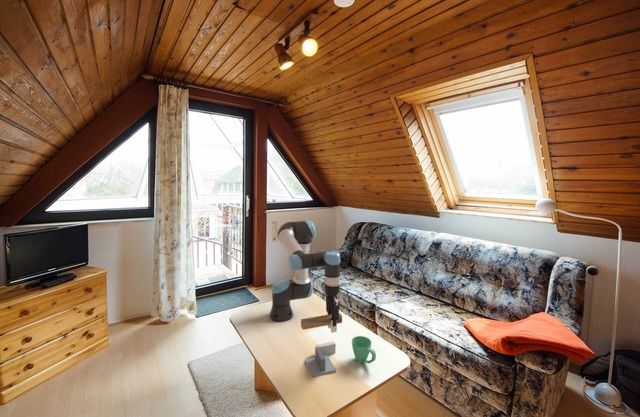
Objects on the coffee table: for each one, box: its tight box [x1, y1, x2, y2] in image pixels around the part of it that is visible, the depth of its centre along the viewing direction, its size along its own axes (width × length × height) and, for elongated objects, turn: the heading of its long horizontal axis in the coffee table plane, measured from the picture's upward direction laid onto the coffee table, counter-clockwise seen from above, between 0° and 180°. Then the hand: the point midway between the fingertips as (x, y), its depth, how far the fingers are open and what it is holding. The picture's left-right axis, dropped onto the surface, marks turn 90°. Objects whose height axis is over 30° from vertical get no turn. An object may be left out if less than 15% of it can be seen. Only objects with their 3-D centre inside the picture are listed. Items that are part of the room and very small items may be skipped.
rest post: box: [315, 341, 336, 356], centre depth 151 cm, size 2×10×5 cm, turn 108°
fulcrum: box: [304, 346, 337, 378], centre depth 140 cm, size 12×12×7 cm
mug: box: [351, 335, 377, 364], centre depth 143 cm, size 15×10×10 cm
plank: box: [300, 312, 343, 330], centre depth 140 cm, size 4×20×4 cm, turn 109°
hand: (332, 329), depth 142 cm, fingers closed on plank, 3 cm apart
